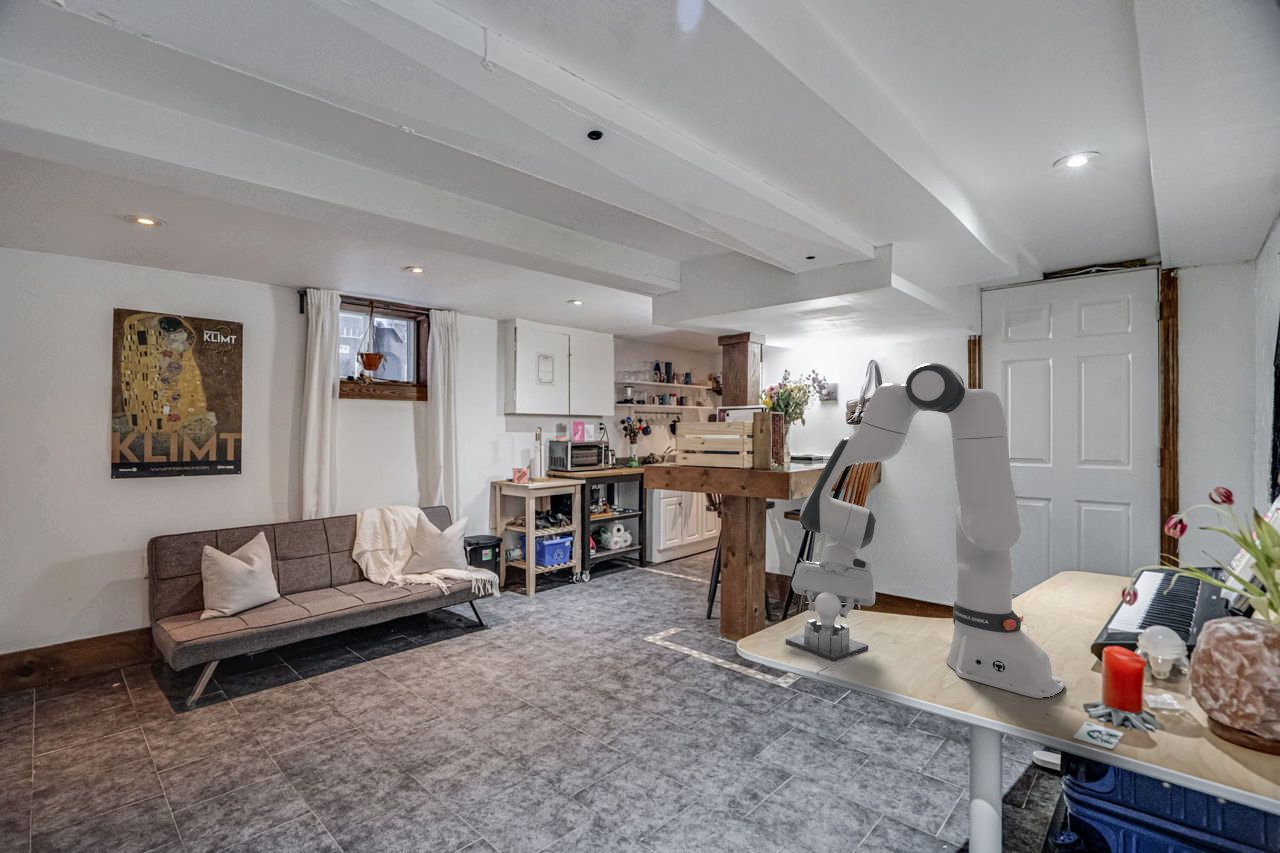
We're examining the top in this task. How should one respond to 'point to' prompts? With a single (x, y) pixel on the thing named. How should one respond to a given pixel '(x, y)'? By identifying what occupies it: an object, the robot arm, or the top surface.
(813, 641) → the lamp socket
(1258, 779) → the top surface
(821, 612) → the lightbulb
